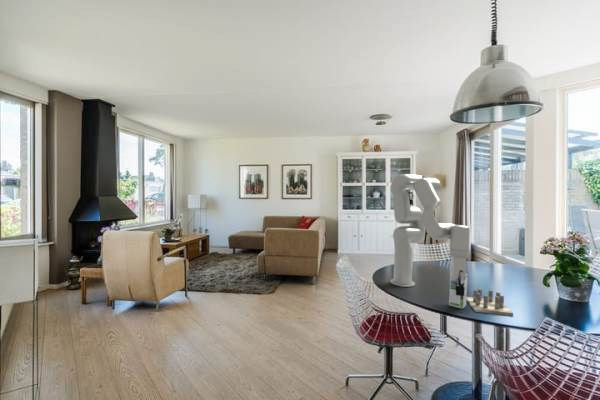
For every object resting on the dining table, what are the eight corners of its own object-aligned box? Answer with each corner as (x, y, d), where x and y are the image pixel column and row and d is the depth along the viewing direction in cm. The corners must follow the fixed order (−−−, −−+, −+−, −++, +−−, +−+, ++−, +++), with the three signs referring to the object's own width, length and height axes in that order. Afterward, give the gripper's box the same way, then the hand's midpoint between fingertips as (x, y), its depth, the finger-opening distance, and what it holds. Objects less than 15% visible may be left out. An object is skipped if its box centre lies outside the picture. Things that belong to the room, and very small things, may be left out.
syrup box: (448, 305, 135) (449, 273, 135) (453, 302, 139) (454, 271, 139) (462, 309, 131) (463, 275, 131) (466, 306, 135) (468, 273, 135)
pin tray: (465, 299, 144) (466, 286, 144) (499, 302, 140) (500, 289, 140) (475, 311, 129) (475, 297, 129) (513, 316, 125) (513, 301, 125)
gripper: (446, 249, 144) (445, 285, 144) (453, 256, 127) (452, 297, 128) (463, 250, 142) (462, 287, 142) (473, 257, 125) (472, 299, 126)
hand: (457, 292), depth 135 cm, fingers closed on syrup box, 7 cm apart
